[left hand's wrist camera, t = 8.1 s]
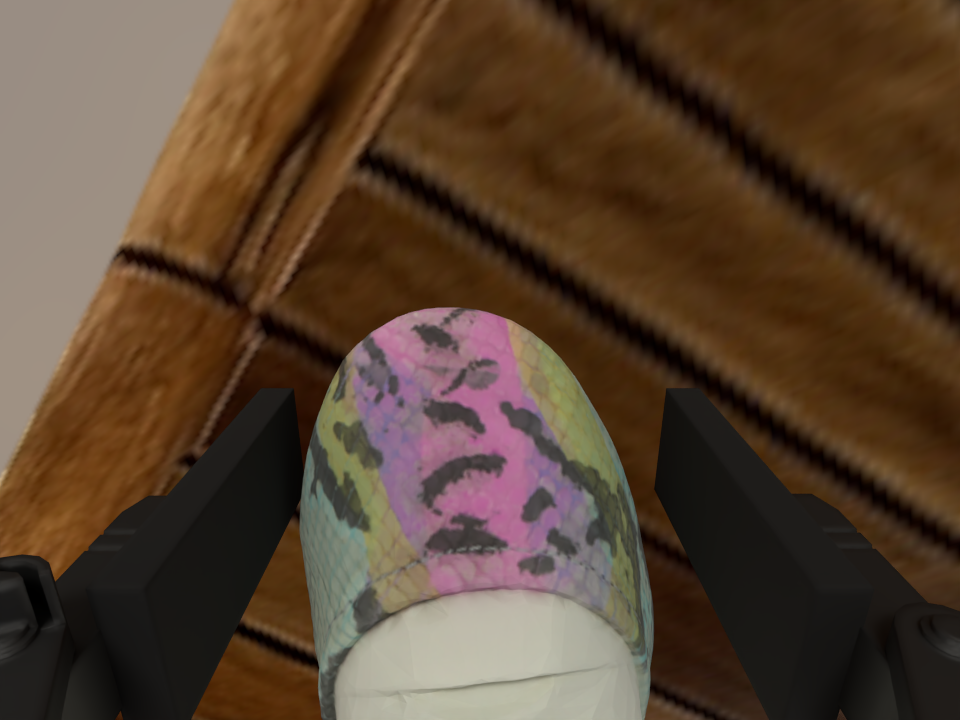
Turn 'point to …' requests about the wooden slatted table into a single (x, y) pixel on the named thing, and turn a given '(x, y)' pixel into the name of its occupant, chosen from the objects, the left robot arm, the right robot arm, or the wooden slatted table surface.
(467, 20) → the wooden slatted table surface
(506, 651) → the ballet flat
